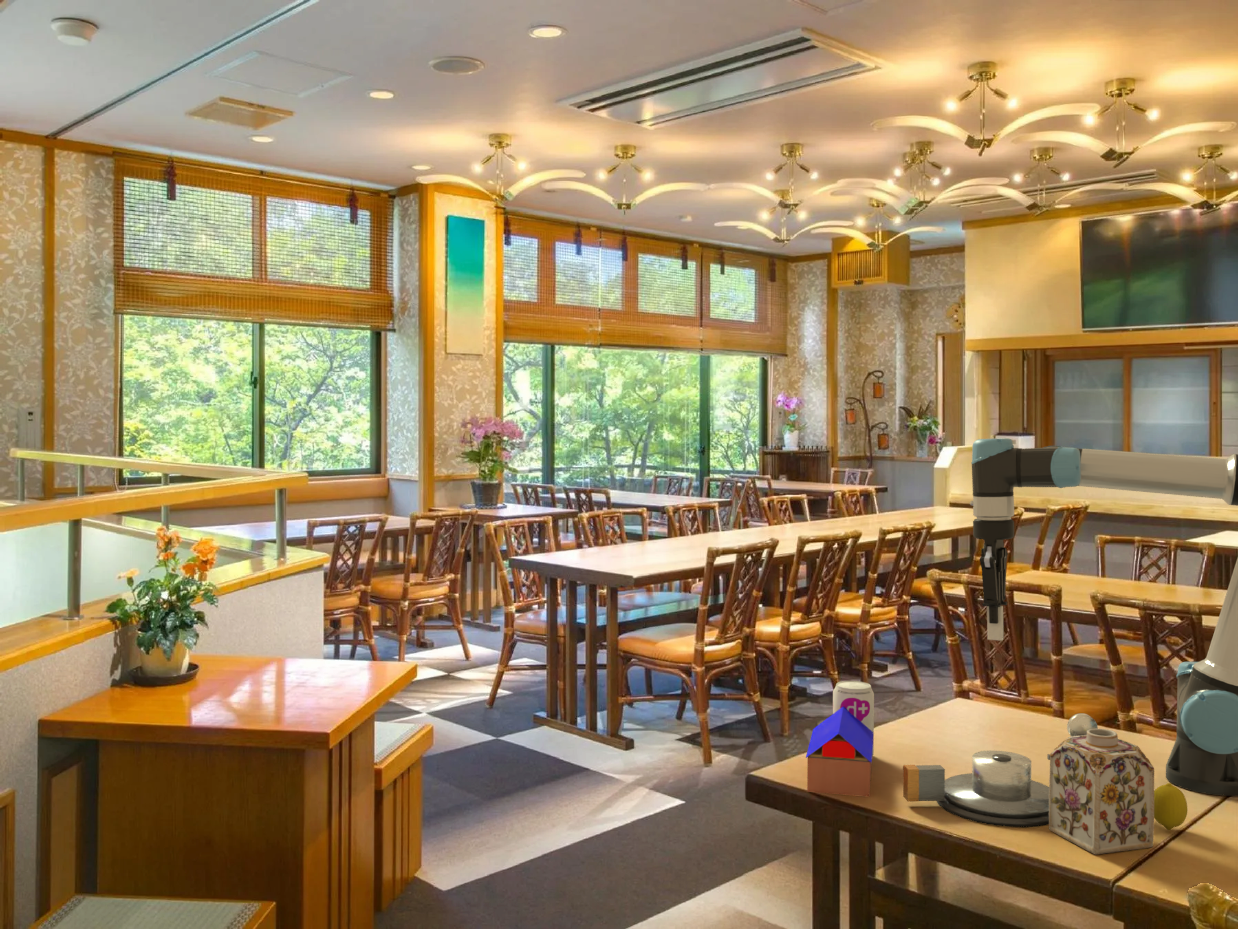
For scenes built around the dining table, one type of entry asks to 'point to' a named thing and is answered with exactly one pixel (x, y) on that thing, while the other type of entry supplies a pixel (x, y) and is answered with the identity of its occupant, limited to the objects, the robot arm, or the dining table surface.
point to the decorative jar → (1101, 793)
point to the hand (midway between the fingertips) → (995, 639)
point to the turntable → (968, 793)
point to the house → (840, 756)
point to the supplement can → (856, 701)
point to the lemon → (1169, 806)
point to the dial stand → (1079, 725)
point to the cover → (1001, 775)
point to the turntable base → (994, 817)
